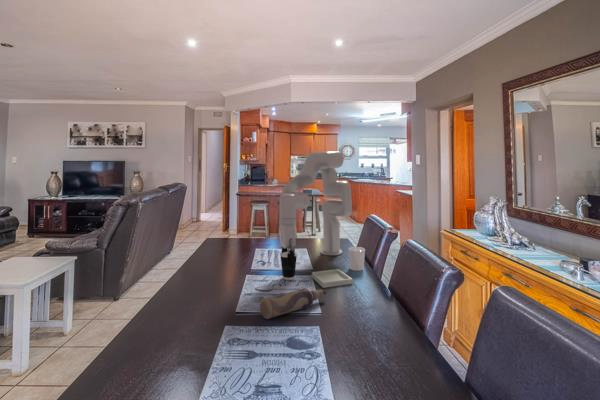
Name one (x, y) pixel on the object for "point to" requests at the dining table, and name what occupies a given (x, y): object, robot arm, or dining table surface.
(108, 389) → the dining table surface
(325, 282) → the tray
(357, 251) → the white cup
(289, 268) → the dixie cup
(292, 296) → the decorative bottle
